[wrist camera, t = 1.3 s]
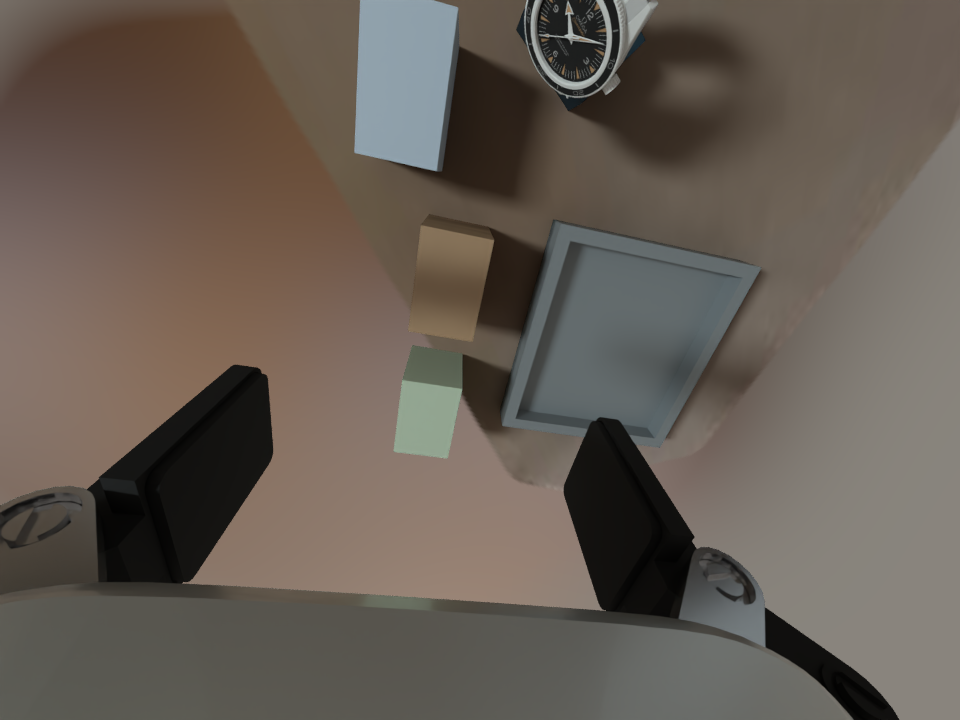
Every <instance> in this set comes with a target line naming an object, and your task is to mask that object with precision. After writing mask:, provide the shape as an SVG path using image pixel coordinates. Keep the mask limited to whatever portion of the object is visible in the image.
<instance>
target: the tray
mask: <svg viewBox="0 0 960 720" xmlns="http://www.w3.org/2000/svg"><path fill="white" fill-rule="evenodd" d="M761 268H762V267H759V266H755V265H752V264H749V263H746V262H743V261H740V260H736V259H731V258H726V257H722V256H717V255H713V254H708V253H704V252H699V251H695V250H690V249H686V248H681V247H676V246H672V245H667V244H663V243H658V242H654V241H649V240H645V239H640V238H636V237H631V236H627V235H622V234H617V233H613V232H608V231H604V230H599V229H595V228H590V227H586V226H581V225H577V224H572V223H568V222H563V221H558V220H553V223H552V227H551V230H550V234H549V237H548V241H547V245H546V248H545V252H544V255H543V259H542V262H541V266H540V270H539V273H538V277H537V280H536V284H535V287H534V291H533V294H532V298H531V302H530V305H529V309H528V312H527V316H526V319H525V323H524V327H523V330H522V334H521V337H520V341H519V344H518V348H517V352H516V355H515V359H514V362H513V366H512V369H511V373H510V376H509V380H508V384H507V387H506V391H505V394H504V398H503V401H502V405H501V409H500V414H501V421H502V426H506V427H514V428H521V429H528V430H535V431H543V432H550V433H557V434H564V435H572V436H579V437H585V434H586V432H587V430H588V427H589V425H590V423H591V422H592V421H596V420H597V419H598V418H599V417H604V418H611V419H617V420H619V421H620V422H621V423H622V425H623V426H624V428H625V429H626V431H627V433H628V434H629V436H630V437H631V439H632V440H633V442H634V443H635V444H637V445H644V446H651V447H659V448H660V447H661V445H662V443H663V441H664V440H665V438H666V436H667V434H668V432H669V431H670V429H671V427H672V425H673V424H674V422H675V420H676V418H677V416H678V415H679V413H680V411H681V409H682V408H683V406H684V404H685V402H686V401H687V399H688V397H689V395H690V393H691V392H692V390H693V388H694V386H695V385H696V383H697V381H698V379H699V377H700V376H701V374H702V372H703V370H704V369H705V367H706V365H707V363H708V362H709V360H710V358H711V356H712V354H713V353H714V351H715V349H716V347H717V346H718V344H719V342H720V340H721V338H722V337H723V335H724V333H725V331H726V330H727V328H728V326H729V324H730V323H731V321H732V319H733V317H734V315H735V314H736V312H737V310H738V308H739V307H740V305H741V303H742V301H743V299H744V298H745V296H746V294H747V292H748V291H749V289H750V287H751V285H752V284H753V282H754V280H755V278H756V276H757V275H758V273H759V271H760V269H761Z"/></svg>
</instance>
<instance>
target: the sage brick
mask: <svg viewBox="0 0 960 720" xmlns="http://www.w3.org/2000/svg"><path fill="white" fill-rule="evenodd" d="M461 393H462V354H461V353H455V352H449V351H443V350H437V349H432V348H427V347H420V346H415V345H413V346H412V348H411V352H410V355H409V359H408V362H407V366H406V369H405V372H404V376H403V379H402V387H401V395H400V404H399V411H398V420H397V428H396V436H395V445H394V452H400V453H408V454H416V455H424V456H432V457H441V458H448V454H449V449H450V445H451V440H452V435H453V431H454V426H455V421H456V417H457V412H458V407H459V403H460V398H461Z"/></svg>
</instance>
